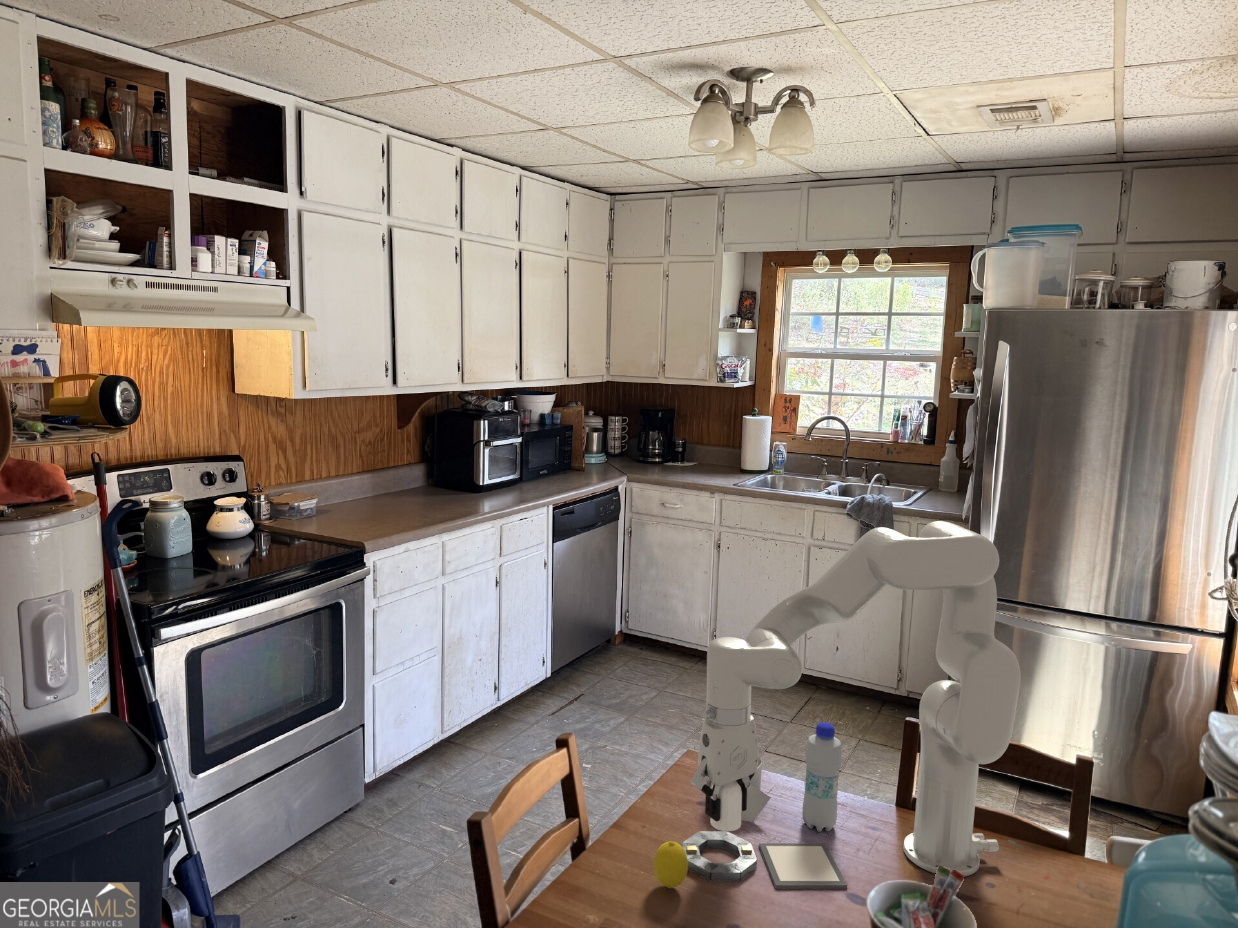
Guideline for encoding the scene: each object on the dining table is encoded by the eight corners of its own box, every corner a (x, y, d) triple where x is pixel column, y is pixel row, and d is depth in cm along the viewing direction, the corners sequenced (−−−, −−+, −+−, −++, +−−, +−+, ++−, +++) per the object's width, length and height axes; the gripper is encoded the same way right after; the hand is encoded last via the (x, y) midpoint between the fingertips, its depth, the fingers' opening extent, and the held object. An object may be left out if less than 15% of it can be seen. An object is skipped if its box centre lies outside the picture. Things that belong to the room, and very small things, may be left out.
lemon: (676, 902, 130) (679, 855, 129) (646, 889, 133) (648, 843, 132) (692, 884, 135) (694, 839, 134) (663, 873, 138) (665, 828, 137)
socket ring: (746, 839, 149) (746, 828, 148) (761, 881, 137) (762, 868, 136) (679, 839, 148) (679, 827, 148) (688, 881, 136) (689, 868, 136)
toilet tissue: (757, 828, 153) (760, 784, 152) (701, 800, 162) (703, 758, 161) (784, 810, 159) (787, 768, 158) (729, 784, 168) (731, 744, 167)
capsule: (728, 834, 138) (729, 789, 137) (703, 822, 142) (704, 778, 141) (747, 822, 142) (748, 778, 141) (723, 810, 145) (724, 767, 144)
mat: (824, 846, 147) (825, 842, 147) (847, 888, 136) (847, 884, 135) (759, 846, 147) (759, 842, 147) (775, 888, 135) (775, 884, 135)
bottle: (838, 837, 151) (845, 733, 148) (800, 832, 152) (807, 728, 150) (836, 818, 157) (843, 718, 155) (800, 813, 158) (806, 713, 156)
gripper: (703, 731, 131) (701, 838, 134) (780, 707, 141) (777, 807, 143) (674, 714, 138) (673, 816, 140) (750, 693, 147) (748, 789, 149)
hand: (726, 811), depth 141 cm, fingers closed on capsule, 5 cm apart
